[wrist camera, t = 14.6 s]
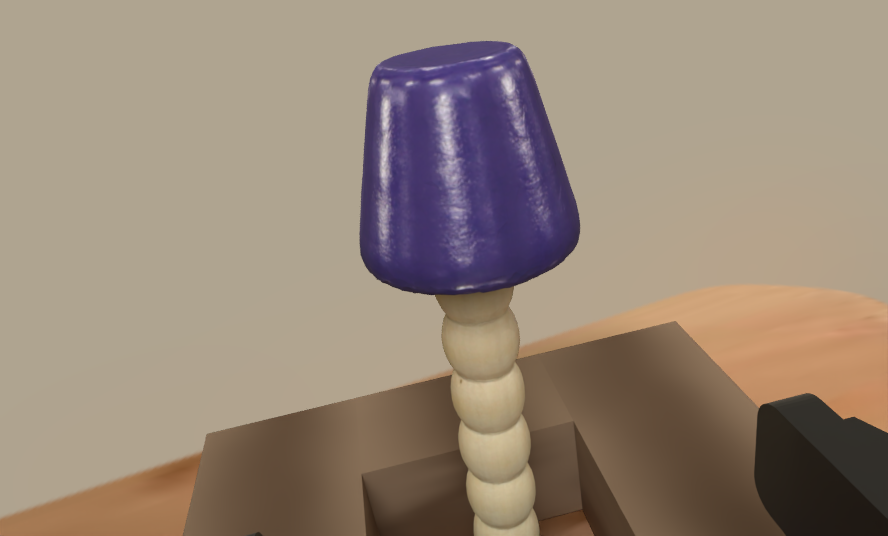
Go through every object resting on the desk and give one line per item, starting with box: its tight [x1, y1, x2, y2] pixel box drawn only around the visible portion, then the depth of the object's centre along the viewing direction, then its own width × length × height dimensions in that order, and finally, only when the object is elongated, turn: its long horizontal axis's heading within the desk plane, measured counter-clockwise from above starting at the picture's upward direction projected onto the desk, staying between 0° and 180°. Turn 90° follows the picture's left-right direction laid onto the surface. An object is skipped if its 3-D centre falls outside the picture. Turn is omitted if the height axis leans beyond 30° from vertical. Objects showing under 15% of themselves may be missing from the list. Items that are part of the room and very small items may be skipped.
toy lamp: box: [360, 41, 580, 536], centre depth 16 cm, size 5×5×17 cm
